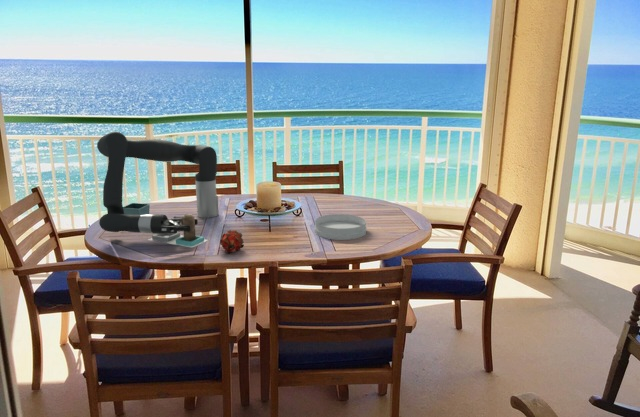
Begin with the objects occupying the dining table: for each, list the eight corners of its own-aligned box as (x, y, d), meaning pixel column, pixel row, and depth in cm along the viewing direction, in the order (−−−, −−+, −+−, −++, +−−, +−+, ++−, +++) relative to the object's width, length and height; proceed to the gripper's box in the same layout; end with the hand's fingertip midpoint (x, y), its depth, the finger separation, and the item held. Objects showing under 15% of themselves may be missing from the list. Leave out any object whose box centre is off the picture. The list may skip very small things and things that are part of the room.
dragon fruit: (235, 248, 192) (233, 264, 181) (217, 237, 190) (214, 252, 179) (247, 232, 190) (246, 247, 179) (229, 221, 187) (226, 235, 176)
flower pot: (141, 228, 212) (139, 208, 210) (122, 227, 214) (120, 207, 211) (151, 223, 220) (150, 203, 218) (134, 221, 222) (132, 202, 220)
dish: (371, 227, 216) (372, 216, 215) (358, 242, 196) (358, 231, 195) (324, 222, 223) (324, 212, 222) (307, 236, 203) (307, 225, 202)
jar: (194, 239, 194) (192, 212, 191) (197, 242, 191) (195, 215, 188) (183, 241, 192) (181, 214, 189) (186, 244, 188) (184, 217, 186)
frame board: (148, 242, 194) (147, 236, 194) (165, 235, 203) (165, 229, 202) (192, 250, 185) (191, 243, 185) (208, 242, 194) (208, 236, 193)
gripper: (144, 219, 183) (187, 220, 182) (159, 209, 196) (199, 210, 195) (146, 238, 185) (188, 240, 184) (161, 227, 198) (200, 228, 197)
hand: (194, 224), depth 190 cm, fingers open, 8 cm apart
